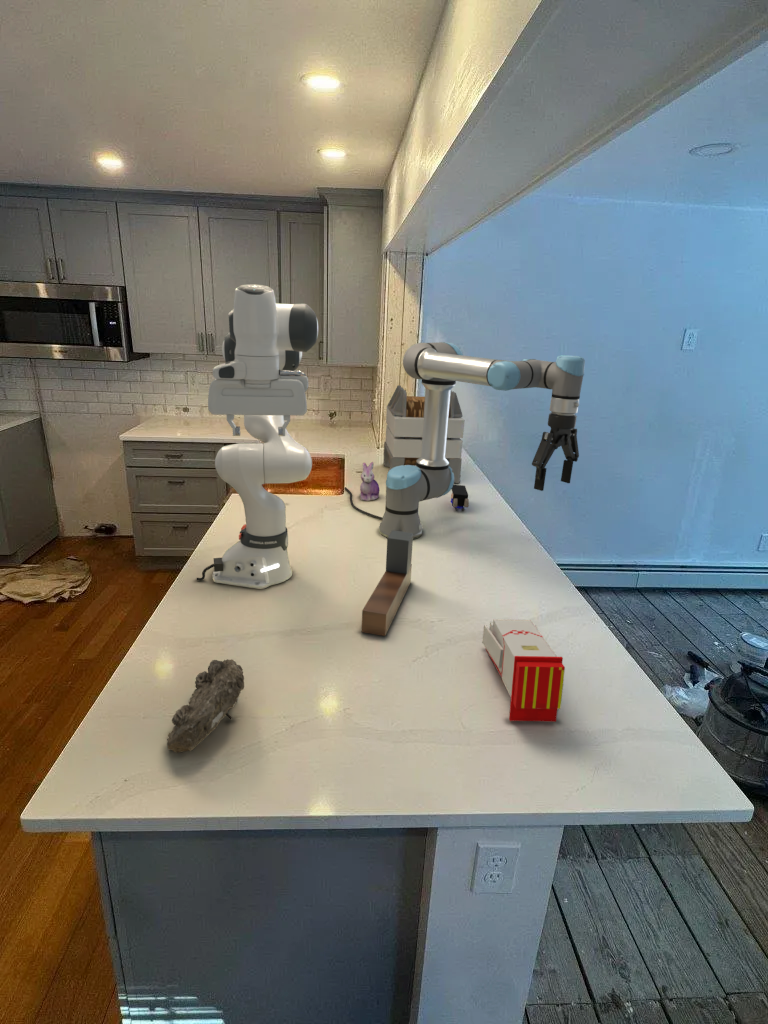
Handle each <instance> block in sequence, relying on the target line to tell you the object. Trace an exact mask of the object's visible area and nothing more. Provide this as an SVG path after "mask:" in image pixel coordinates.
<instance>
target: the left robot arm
mask: <svg viewBox="0 0 768 1024" xmlns="http://www.w3.org/2000/svg"><path fill="white" fill-rule="evenodd" d="M228 327H229V328H228V329H229V331H228V332H227V334H226V335H225V336H224V338H223V339H224V340H223V341H222V345H221V353H222V357H223V360H224V362H223V363H221V364H218V365H216V366H214V367H213V368H212V377H213V378H214V379H213V380H212V381H211V383H210V385H209V387H208V388H209V389H208V394H207V395H208V396H207V407H208V408H207V410H208V412H209V413H210V414H211V415H215V416H218V415H219V416H226V421H227V423H228V424H229V426H230V427H231V429H232V436H233V437H241V426H239V425H238V426H237V425H236V423H235V422H234V419H235V416H243V426H244V429H245V430H246V432H247V433H248V434H249V435H250V436H251V437H252V438H254V439H256V440H258V441H260V442H238V443H232V444H229V445H223V446H221V448H220V449H219V450H218V451H217V453H216V456H215V459H214V466H215V471H216V473H217V476H219V478H220V479H221V480H222V481H223V482H225V483H226V484H228V485H229V486H231V488H233V489H234V490H235V492H236V493H237V494H238V496H239V497H240V500H241V502H242V505H243V508H244V516H245V524H243V525H242V527H241V528H240V531H239V534H238V540H239V541H237V542H236V543H234V544H233V545H231V546H230V547H229V548H227V550H226V551H224V553H223V554H222V557H213V563H212V564H210V565H208V566H207V567H205V568H204V569H203V570H202V573H201V577H196V581H198V582H202V581H204V580H205V578H206V573H207V572H208V571H209V570H210V569H212V568H213V572H212V581H213V582H214V583H216V584H223V585H230V586H235V587H236V586H237V587H242V588H243V587H244V588H250V589H257V590H264V589H266V588H268V587H270V586H274V585H277V584H281V583H284V582H286V581H288V580H289V579H290V578H292V576H293V570H292V566H291V563H290V558H289V553H288V546H289V533H288V528H287V513H286V512H287V511H286V510H287V509H286V508H287V507H286V504H285V502H284V500H283V499H282V498H280V496H278V495H277V494H274V493H272V492H270V491H268V490H266V488H265V487H264V486H263V485H265V484H293V483H297V482H301V481H305V480H306V479H307V478H308V477H309V476H310V474H311V471H312V468H313V459H312V455H311V453H310V451H309V450H308V448H306V447H305V446H304V445H302V444H301V443H299V442H297V441H296V439H294V438H293V436H292V435H291V434H290V433H289V431H288V429H287V427H288V425H289V424H290V422H291V416H298V417H300V416H305V415H306V413H307V412H308V404H307V403H308V402H307V395H306V393H307V391H308V389H309V377H308V376H307V374H306V373H304V372H302V371H301V370H299V369H298V368H299V366H300V363H301V361H302V358H303V353H307V352H308V351H310V350H311V349H312V348H313V347H314V346H315V345H316V343H317V340H318V337H319V336H318V335H319V321H318V317H317V314H316V312H315V311H314V309H313V308H311V306H309V305H308V304H307V303H277V300H276V294H275V291H274V289H273V288H272V287H270V286H268V285H263V284H257V283H256V284H255V283H254V284H253V283H248V284H241V285H239V286H237V287H236V288H235V290H234V298H233V308H232V309H231V310H230V311H229V312H228Z"/></svg>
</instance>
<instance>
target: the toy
mask: <svg viewBox="0 0 768 1024" xmlns="http://www.w3.org/2000/svg"><path fill="white" fill-rule="evenodd" d="M481 639H482V640H481V643H482V645H483V646H484V648H485V650H486V651H485V652H486V653H487V654H488V656H489V658H490V660H491V661H492V663H493V665H494V667H495V669H496V671H497V672H498V675H499V676H500V678H501V680H502V683H503V684H504V686H505V688H506V691H507V693H508V695H509V697H510V704H509V715H508V720H509V722H557V716H558V710H561V708H562V707H561V706H562V697H563V687H564V678H565V670H566V669H565V668H566V667H565V665H564V664H563V660H564V658H563V656H557V654H556V653H555V652H554V650H553V649H552V647H551V646H550V645H549V642H547V640H546V639H545V637H544V636H543V635H542V633H541V631H540V630H539V629H538V627H537V625H536V624H535V623H534V622H533V621H532V619H505V618H504V619H499V618H498V619H496V618H493V619H492V621H489V626H488V625H486V624H484V625H483V632H482V638H481Z"/></svg>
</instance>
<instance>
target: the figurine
mask: <svg viewBox="0 0 768 1024" xmlns="http://www.w3.org/2000/svg"><path fill="white" fill-rule="evenodd" d="M373 469H374V462H373V461H372V462H370V463H369V464H368V465H367V464H366V462H363V463H362V473H361V474H360V479H361V484H360V487H359V491H360V494H359V498H360V500H361V501H367V502H369V501H374V500H377V499H379V497H380V491H381V490H380V485H379V483H378V481H377V480H376V479H375V474H374V472H373Z"/></svg>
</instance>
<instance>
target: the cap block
mask: <svg viewBox="0 0 768 1024" xmlns="http://www.w3.org/2000/svg"><path fill="white" fill-rule="evenodd" d="M413 541H414V539H413V533H409V532H401V531H394V530H392V532H391V533H390V535H389V536H388V538H387V537H386V557H385V572H386V571H389V572H396V573H403V574H407V572H408V570H409V568H410V566H411V564H412V560H413V559H412V557H413V544H414V543H413Z"/></svg>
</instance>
